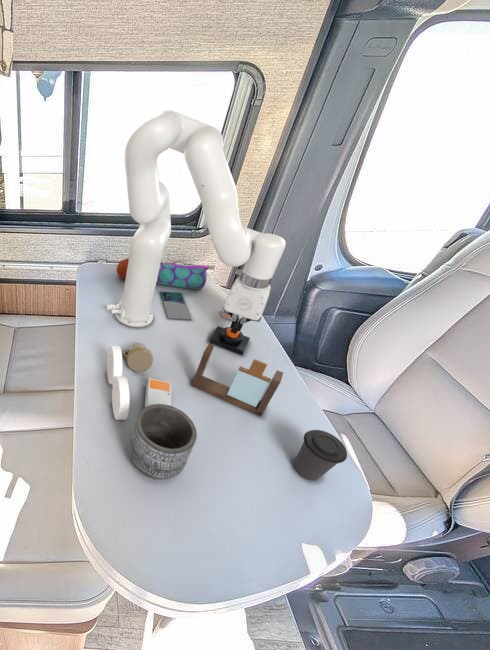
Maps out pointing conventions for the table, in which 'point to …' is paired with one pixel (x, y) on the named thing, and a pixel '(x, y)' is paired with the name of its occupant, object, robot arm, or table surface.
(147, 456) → the planter
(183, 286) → the pencil case
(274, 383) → the window frame
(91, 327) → the table surface
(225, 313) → the pill bottle
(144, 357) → the mug
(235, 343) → the button housing
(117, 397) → the letter
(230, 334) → the button
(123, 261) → the fruit
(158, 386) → the cosmetic box
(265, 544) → the table surface
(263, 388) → the window pane
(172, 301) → the smartphone
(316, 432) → the coffee cup
